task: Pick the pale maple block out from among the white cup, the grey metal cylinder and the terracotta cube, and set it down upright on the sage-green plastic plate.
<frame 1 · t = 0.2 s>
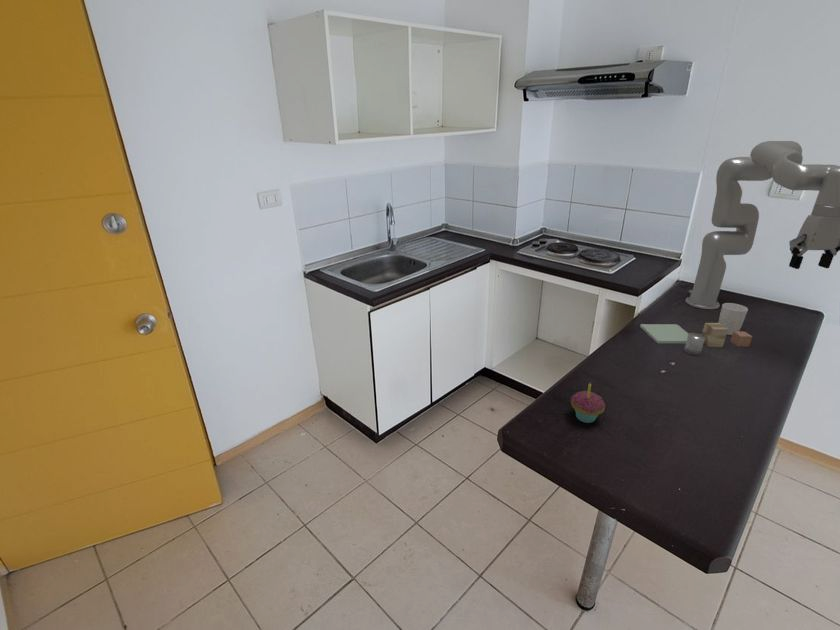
hand: (808, 267, 137), 31 cm above the table, fingers open, 9 cm apart
terracotta cube: (739, 344, 156), on the table
cupcake: (584, 417, 117), on the table
grey metal cylinder: (692, 351, 151), on the table
sage plate: (667, 334, 163), on the table
maple block: (711, 343, 156), on the table
white cup: (727, 332, 165), on the table
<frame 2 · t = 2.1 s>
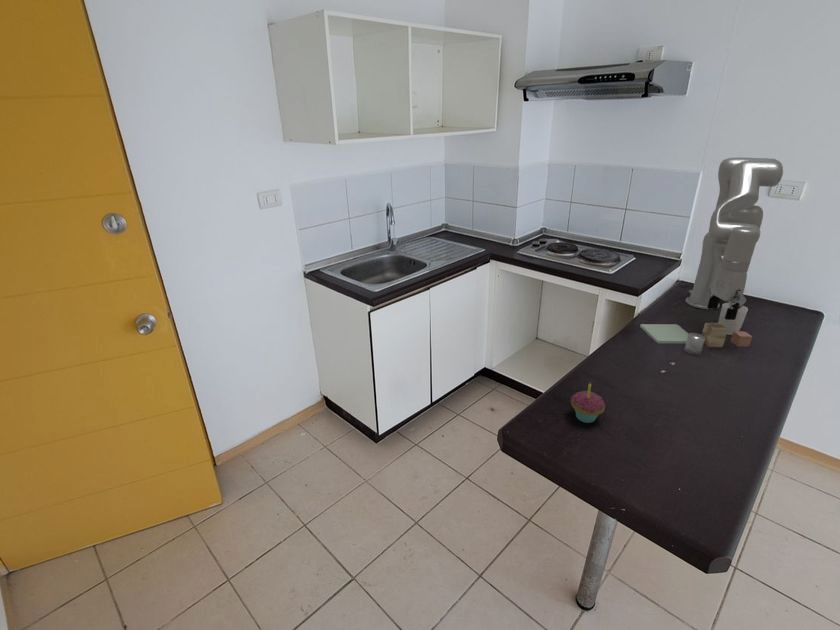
hand: (720, 313, 151), 12 cm above the table, fingers open, 9 cm apart
nothing on the table moved.
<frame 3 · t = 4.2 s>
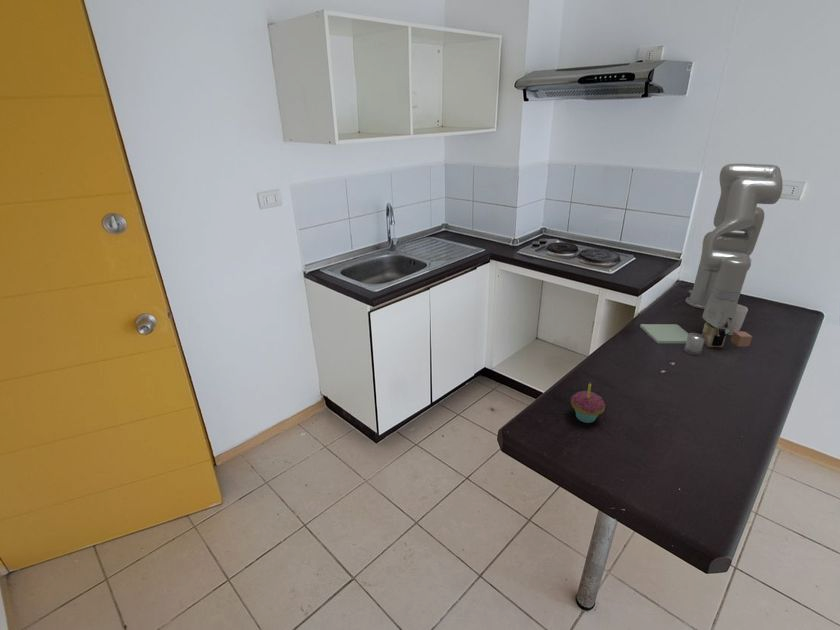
hand: (711, 341, 156), 1 cm above the table, fingers closed on maple block, 4 cm apart
maple block: (711, 343, 156), on the table, touching gripper
everything else where it was.
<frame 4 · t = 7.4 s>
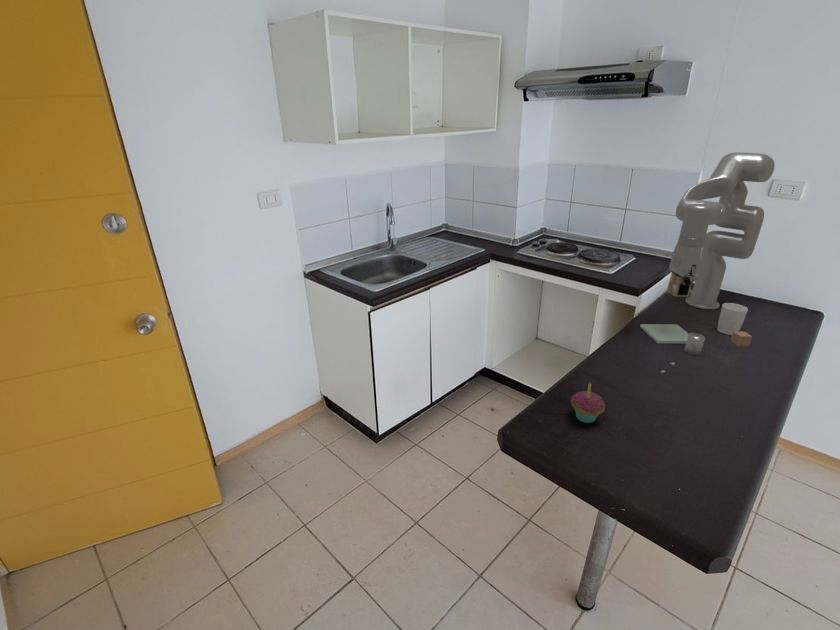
hand: (678, 291, 156), 17 cm above the table, fingers closed on maple block, 4 cm apart
maple block: (677, 293, 156), point 16 cm above the table, touching gripper
everything else where it was.
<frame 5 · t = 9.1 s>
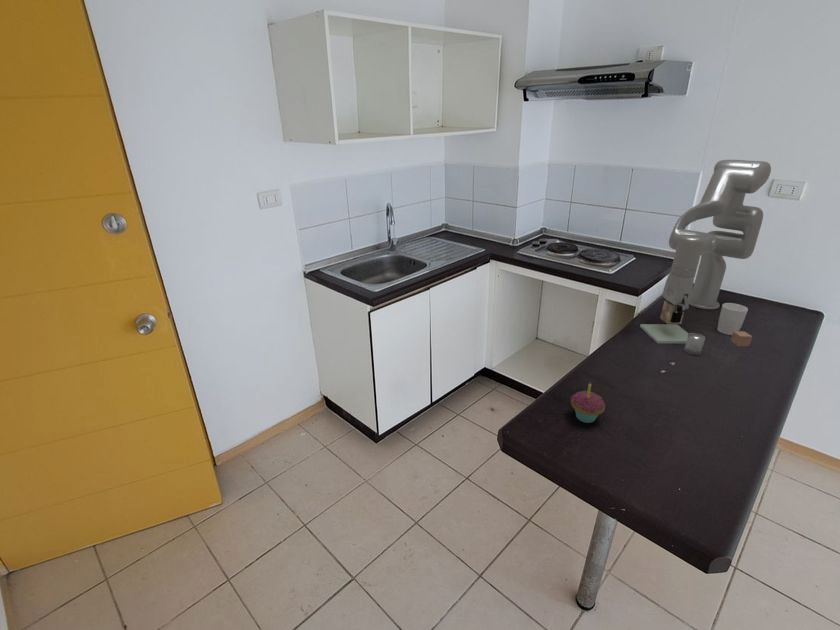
hand: (671, 318, 160), 7 cm above the table, fingers closed on maple block, 4 cm apart
maple block: (670, 320, 160), point 6 cm above the table, touching gripper
everything else where it was.
when the fingers open (3 cm above the table, at t = 10.6 s): maple block drops 1 cm, resting on sage plate.
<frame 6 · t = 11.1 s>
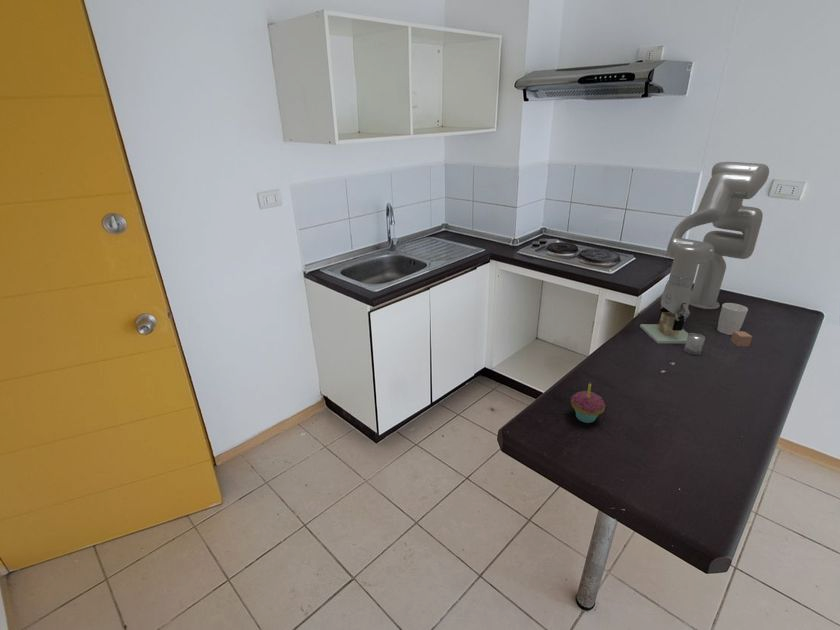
hand: (669, 324, 161), 4 cm above the table, fingers open, 9 cm apart
maple block: (667, 332, 162), point 1 cm above the table, touching sage plate
everything else where it was.
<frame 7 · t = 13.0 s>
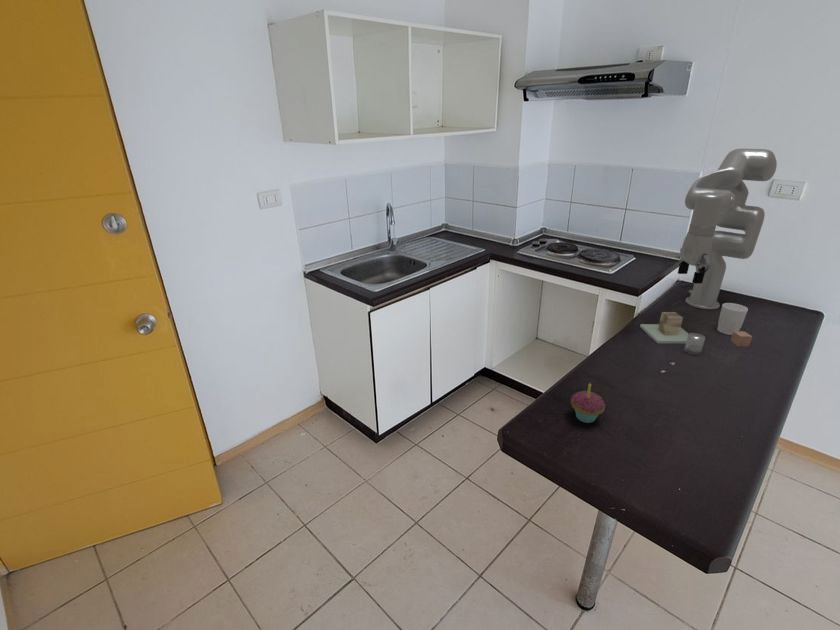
hand: (689, 278, 156), 21 cm above the table, fingers open, 9 cm apart
nothing on the table moved.
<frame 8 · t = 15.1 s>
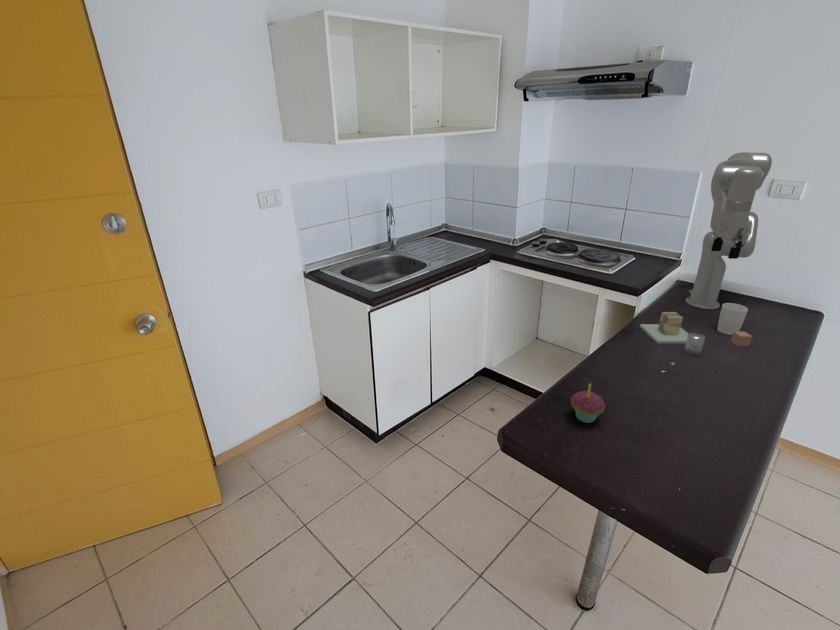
hand: (724, 254, 159), 28 cm above the table, fingers open, 9 cm apart
nothing on the table moved.
at the end: maple block inside the target area on the sage plate (0.0 cm from its centre), point 1.0 cm above the sage plate's base; maple block tilted 0°; the gripper is holding nothing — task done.
